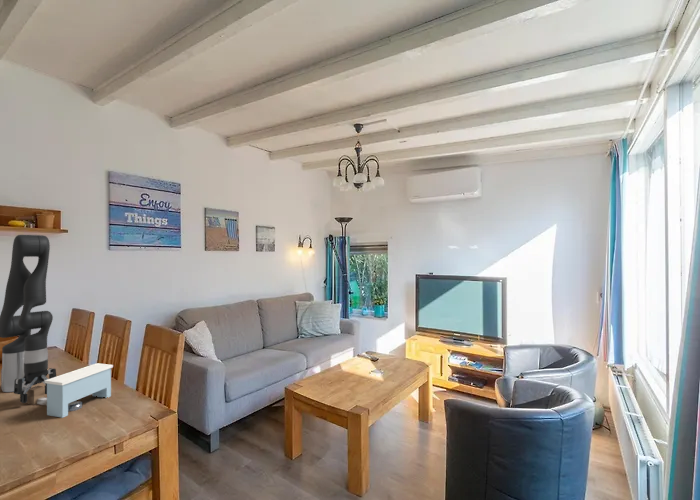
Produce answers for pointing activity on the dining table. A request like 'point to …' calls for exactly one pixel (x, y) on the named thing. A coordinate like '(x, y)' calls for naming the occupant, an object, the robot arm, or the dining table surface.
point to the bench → (77, 387)
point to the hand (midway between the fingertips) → (36, 398)
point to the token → (74, 406)
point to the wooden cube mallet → (36, 395)
